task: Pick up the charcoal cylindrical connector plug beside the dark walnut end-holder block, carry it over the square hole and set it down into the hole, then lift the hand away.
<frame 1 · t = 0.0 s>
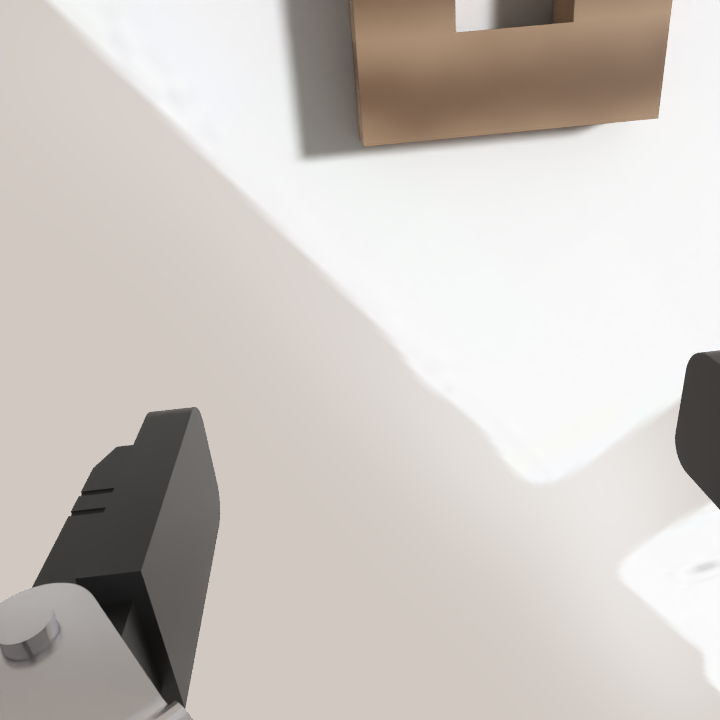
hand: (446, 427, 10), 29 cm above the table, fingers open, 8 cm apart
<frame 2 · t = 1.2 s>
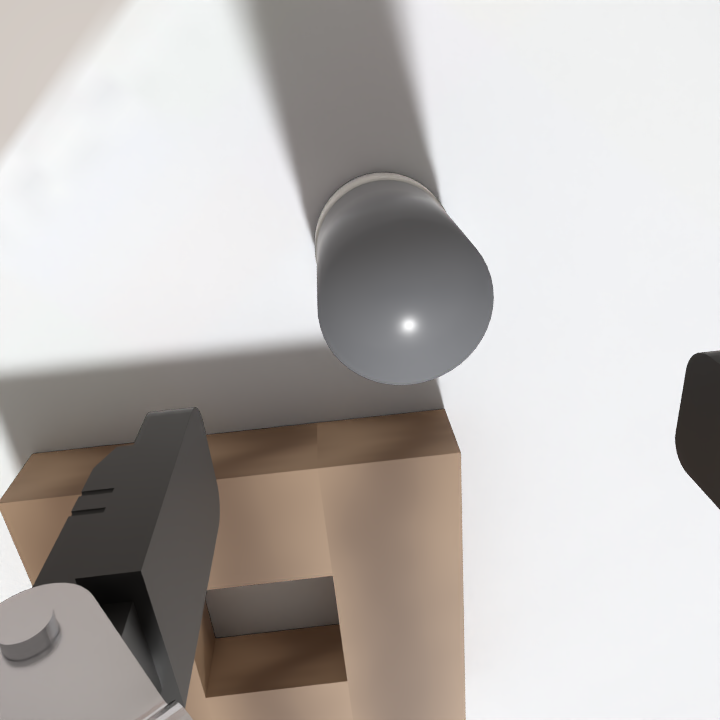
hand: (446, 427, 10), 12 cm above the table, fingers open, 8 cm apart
connector plug: (380, 238, 21), on the table
end holder: (270, 583, 28), on the table
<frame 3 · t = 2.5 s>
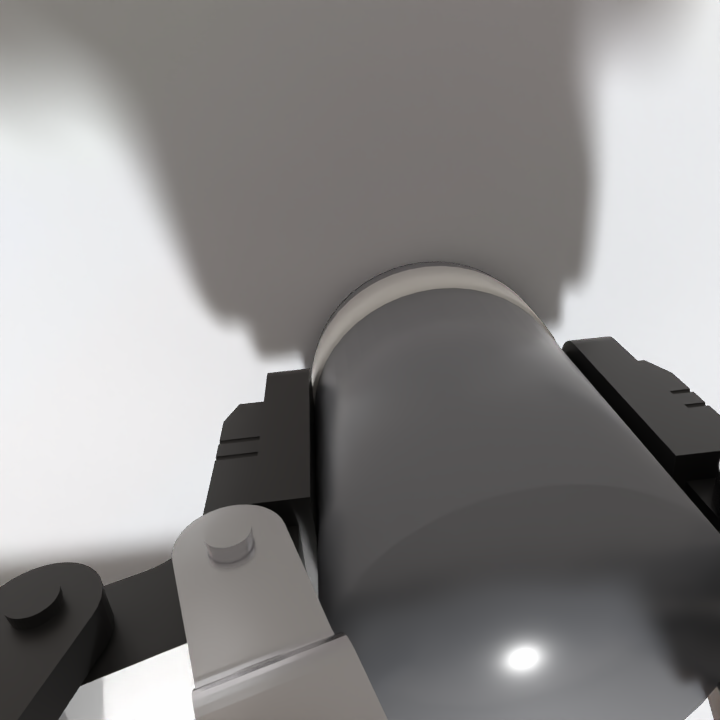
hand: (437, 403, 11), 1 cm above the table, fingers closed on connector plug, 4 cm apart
connector plug: (426, 370, 12), on the table, touching gripper
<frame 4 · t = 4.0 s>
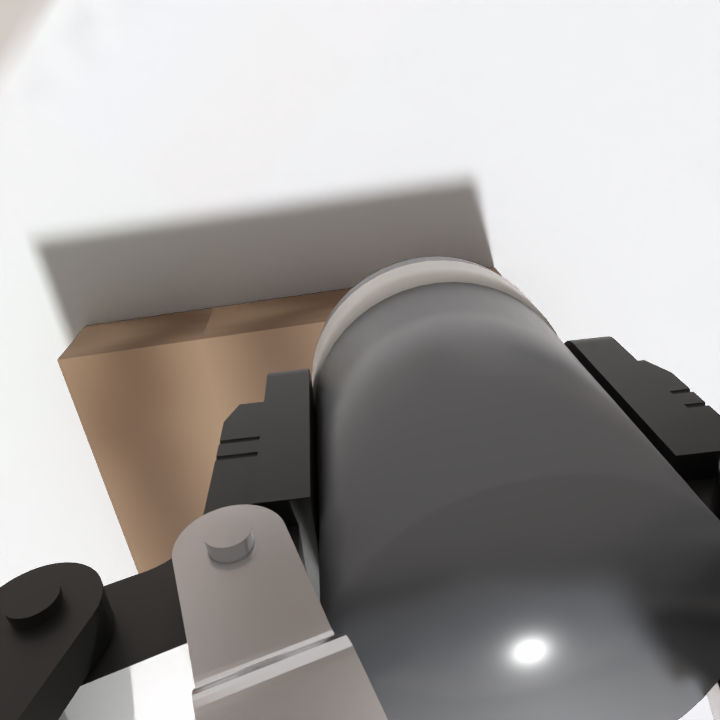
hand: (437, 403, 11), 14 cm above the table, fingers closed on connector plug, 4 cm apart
connector plug: (427, 366, 12), point 12 cm above the table, touching gripper
end holder: (321, 464, 28), on the table
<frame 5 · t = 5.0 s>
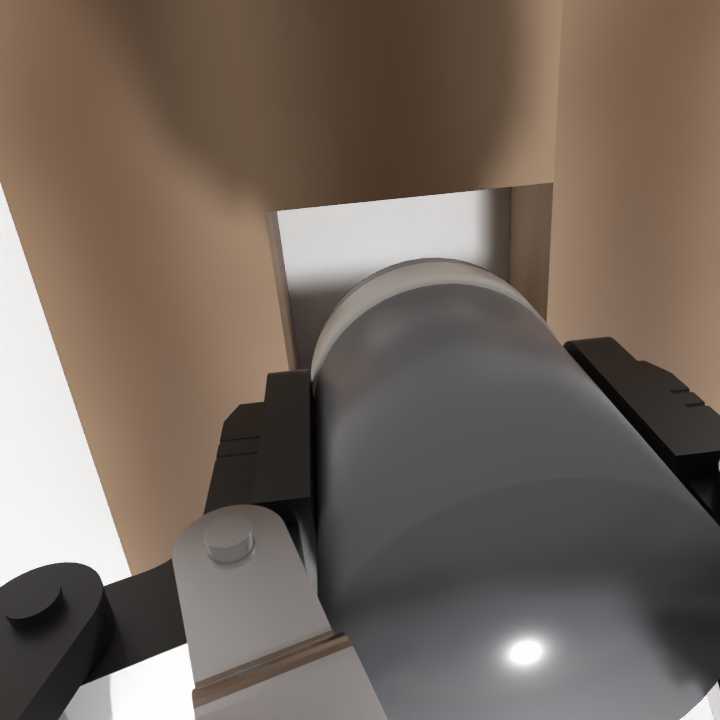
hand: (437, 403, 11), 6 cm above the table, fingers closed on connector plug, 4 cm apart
connector plug: (426, 367, 12), point 5 cm above the table, touching gripper
end holder: (399, 285, 17), on the table
when the fingers open (3 cm above the table, at t = 5.8 s): connector plug drops 2 cm, resting in end holder.
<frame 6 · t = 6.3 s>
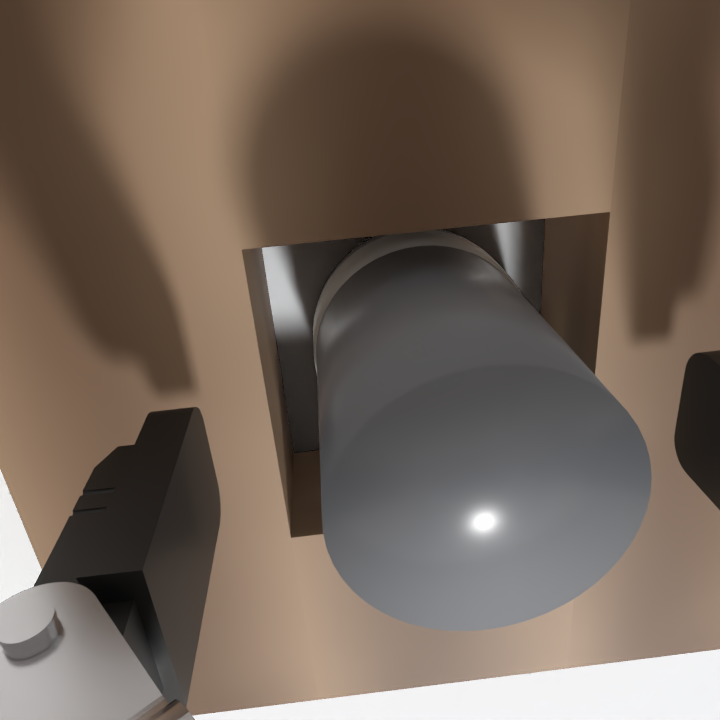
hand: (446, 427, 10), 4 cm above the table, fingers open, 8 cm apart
connector plug: (413, 323, 14), resting in end holder
end holder: (409, 327, 14), on the table
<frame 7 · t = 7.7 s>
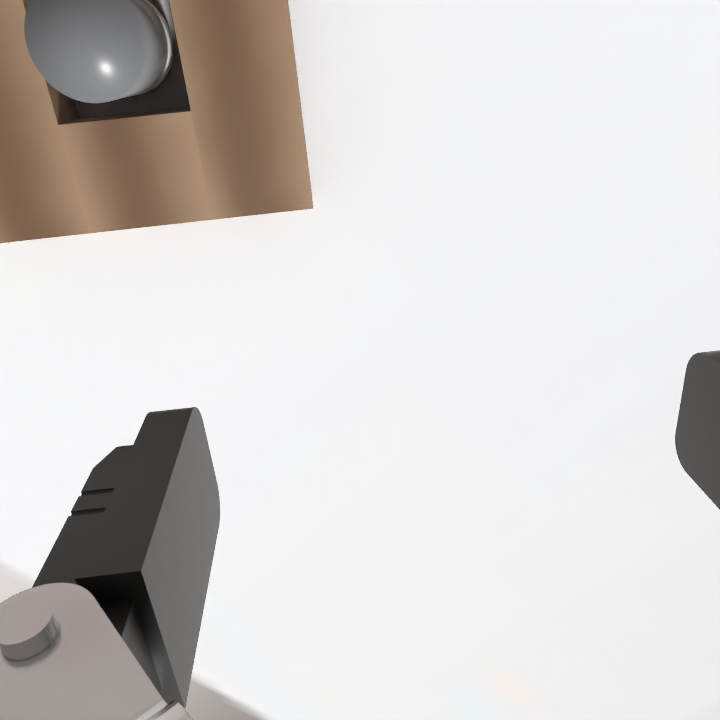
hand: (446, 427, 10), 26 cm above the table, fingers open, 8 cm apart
connector plug: (126, 43, 30), resting in end holder
end holder: (124, 45, 30), on the table
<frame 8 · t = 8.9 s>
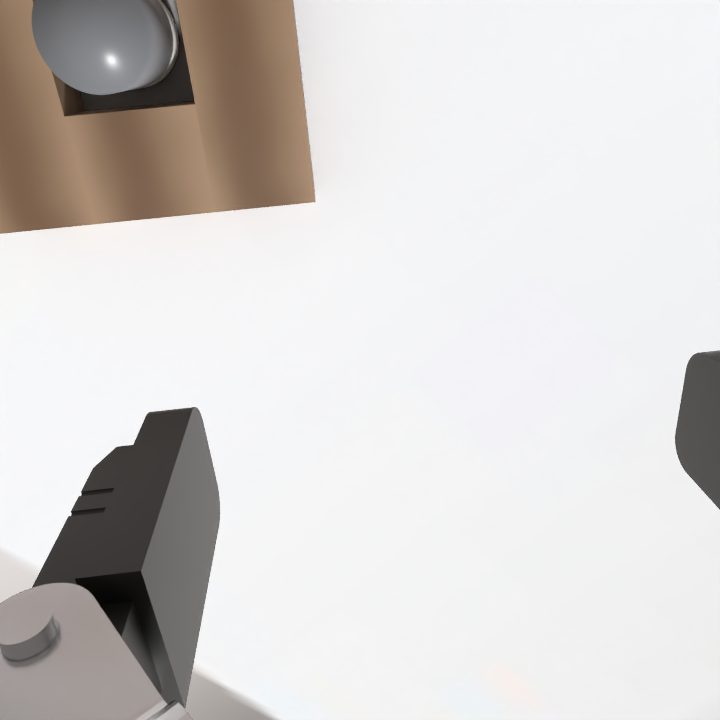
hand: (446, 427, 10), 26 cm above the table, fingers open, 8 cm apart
connector plug: (132, 37, 30), resting in end holder
end holder: (130, 38, 30), on the table
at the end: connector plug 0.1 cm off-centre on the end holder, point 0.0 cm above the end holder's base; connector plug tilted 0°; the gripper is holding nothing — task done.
